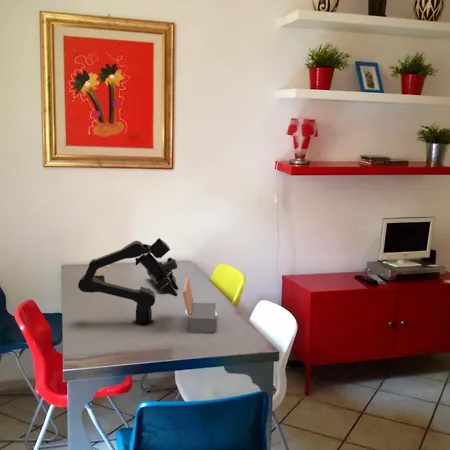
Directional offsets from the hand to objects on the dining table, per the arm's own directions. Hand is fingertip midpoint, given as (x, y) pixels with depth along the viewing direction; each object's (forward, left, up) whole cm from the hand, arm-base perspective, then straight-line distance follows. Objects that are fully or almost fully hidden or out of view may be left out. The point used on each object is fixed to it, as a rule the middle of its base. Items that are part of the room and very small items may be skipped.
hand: (177, 292), depth 222 cm
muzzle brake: (+36, +41, -14) cm, 57 cm away
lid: (+3, -5, -1) cm, 5 cm away
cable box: (+10, -7, -13) cm, 18 cm away
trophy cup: (+15, +65, -14) cm, 68 cm away
